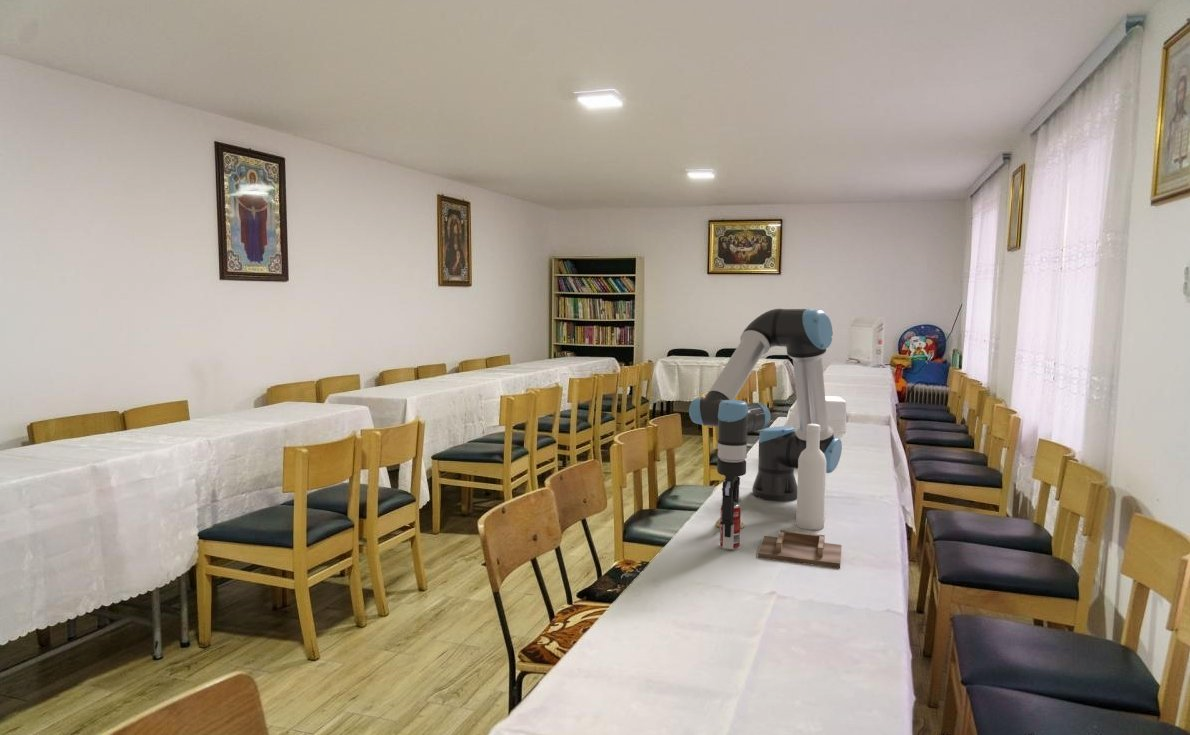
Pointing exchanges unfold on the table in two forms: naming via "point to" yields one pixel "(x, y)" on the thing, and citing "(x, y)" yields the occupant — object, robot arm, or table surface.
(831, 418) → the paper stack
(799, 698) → the table surface
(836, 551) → the can rest
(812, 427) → the bottle
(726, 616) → the table surface
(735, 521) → the soda can
